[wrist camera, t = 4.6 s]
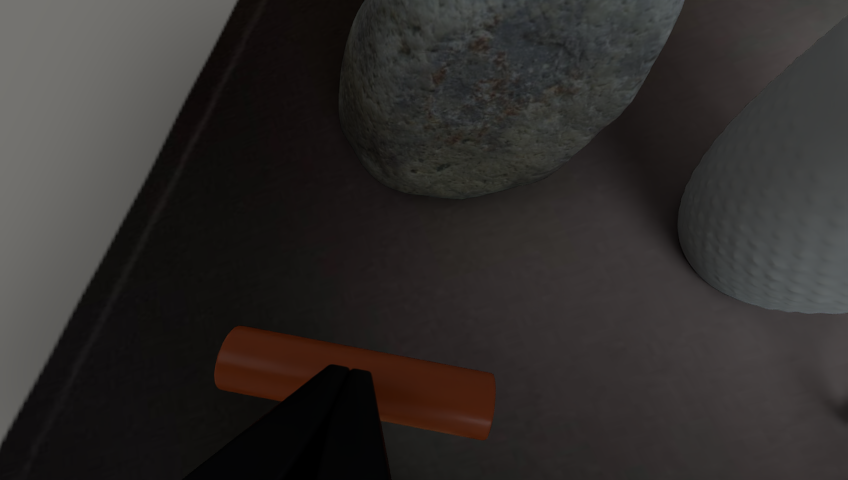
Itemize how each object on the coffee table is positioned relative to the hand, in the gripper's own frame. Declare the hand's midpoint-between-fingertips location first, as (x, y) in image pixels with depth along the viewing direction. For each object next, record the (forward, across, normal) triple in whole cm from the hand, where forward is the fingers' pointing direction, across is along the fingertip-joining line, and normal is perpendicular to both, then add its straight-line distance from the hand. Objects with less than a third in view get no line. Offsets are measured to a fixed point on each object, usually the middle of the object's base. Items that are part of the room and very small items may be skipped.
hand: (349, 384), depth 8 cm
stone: (+22, -1, -2) cm, 22 cm away
